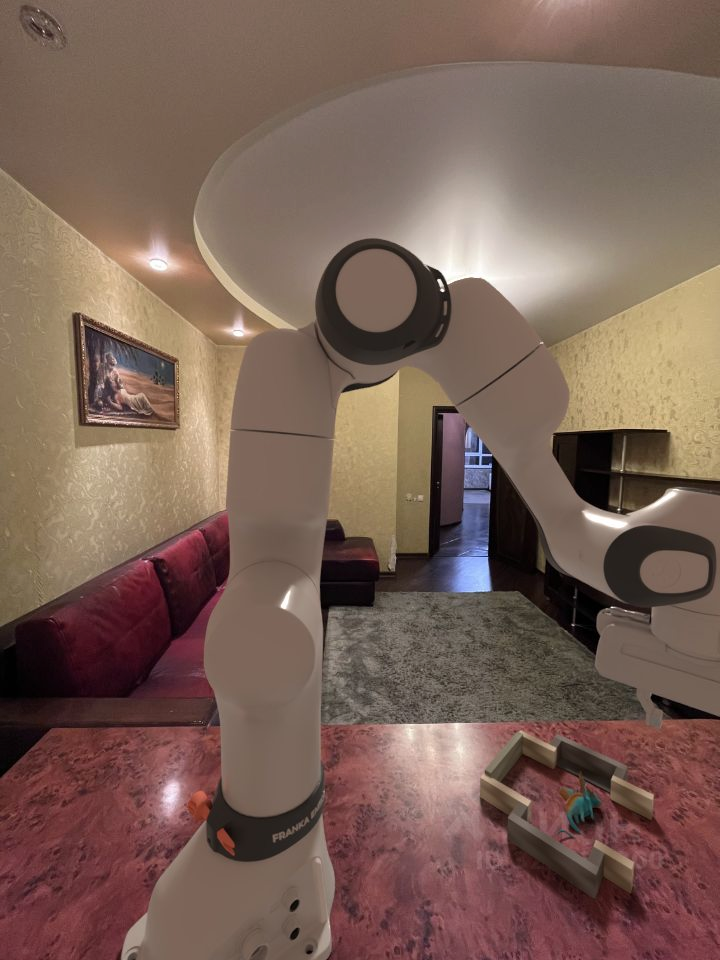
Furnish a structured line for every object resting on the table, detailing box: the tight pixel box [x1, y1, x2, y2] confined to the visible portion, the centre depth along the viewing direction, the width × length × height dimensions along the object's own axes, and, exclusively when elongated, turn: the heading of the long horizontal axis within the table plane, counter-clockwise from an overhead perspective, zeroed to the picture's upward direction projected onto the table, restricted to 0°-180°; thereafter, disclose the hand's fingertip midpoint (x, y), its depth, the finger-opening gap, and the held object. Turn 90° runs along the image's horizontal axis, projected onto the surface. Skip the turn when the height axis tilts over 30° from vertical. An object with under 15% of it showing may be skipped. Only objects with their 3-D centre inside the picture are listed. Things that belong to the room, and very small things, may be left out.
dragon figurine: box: [556, 772, 602, 839], centre depth 57 cm, size 6×7×8 cm
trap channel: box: [479, 729, 655, 900], centre depth 59 cm, size 19×22×4 cm
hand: (690, 738), depth 48 cm, fingers open, 6 cm apart
